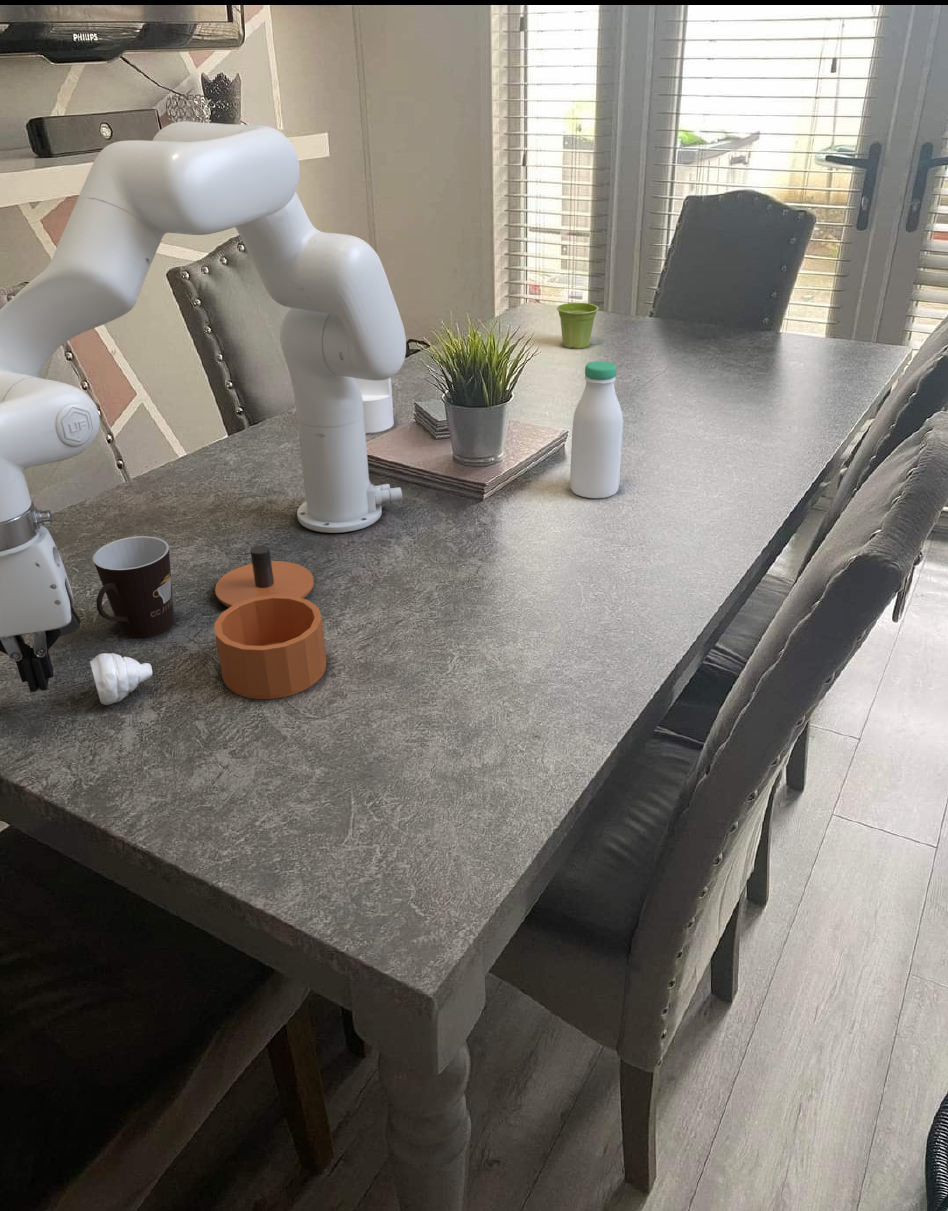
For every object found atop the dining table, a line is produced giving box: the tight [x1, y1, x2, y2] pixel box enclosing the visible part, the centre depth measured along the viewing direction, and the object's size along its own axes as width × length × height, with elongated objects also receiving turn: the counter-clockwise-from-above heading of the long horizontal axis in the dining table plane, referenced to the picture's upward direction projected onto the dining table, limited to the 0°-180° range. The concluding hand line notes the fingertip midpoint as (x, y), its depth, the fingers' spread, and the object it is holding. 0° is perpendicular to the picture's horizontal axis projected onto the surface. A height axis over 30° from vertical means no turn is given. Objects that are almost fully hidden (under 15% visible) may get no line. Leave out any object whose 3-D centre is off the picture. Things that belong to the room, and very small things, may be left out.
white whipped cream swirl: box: [89, 652, 153, 706], centre depth 104 cm, size 6×6×5 cm
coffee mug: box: [92, 535, 175, 640], centre depth 115 cm, size 12×9×10 cm
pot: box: [213, 595, 327, 700], centre depth 108 cm, size 12×12×6 cm
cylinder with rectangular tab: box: [354, 377, 395, 434], centre depth 176 cm, size 9×9×12 cm
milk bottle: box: [569, 360, 624, 499], centre depth 147 cm, size 8×8×20 cm
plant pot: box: [556, 302, 599, 349], centre depth 221 cm, size 9×9×9 cm
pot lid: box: [214, 544, 315, 608], centre depth 124 cm, size 13×13×6 cm
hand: (40, 683), depth 102 cm, fingers closed
